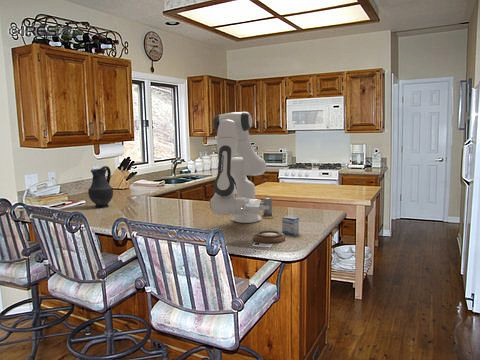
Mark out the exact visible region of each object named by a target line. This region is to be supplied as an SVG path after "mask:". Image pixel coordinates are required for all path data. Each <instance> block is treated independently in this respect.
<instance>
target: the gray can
mask: <svg viewBox="0 0 480 360" xmlns="http://www.w3.org/2000/svg"><path fill="white" fill-rule="evenodd" d="M262 203H263V206H266V205H269V209H265V210H262V211H263V213H262V214H261V216H260V217H261V219H262V220H273V219H275V215H274V214H273V198H272V197H264V198H263V201H262Z"/></svg>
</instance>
